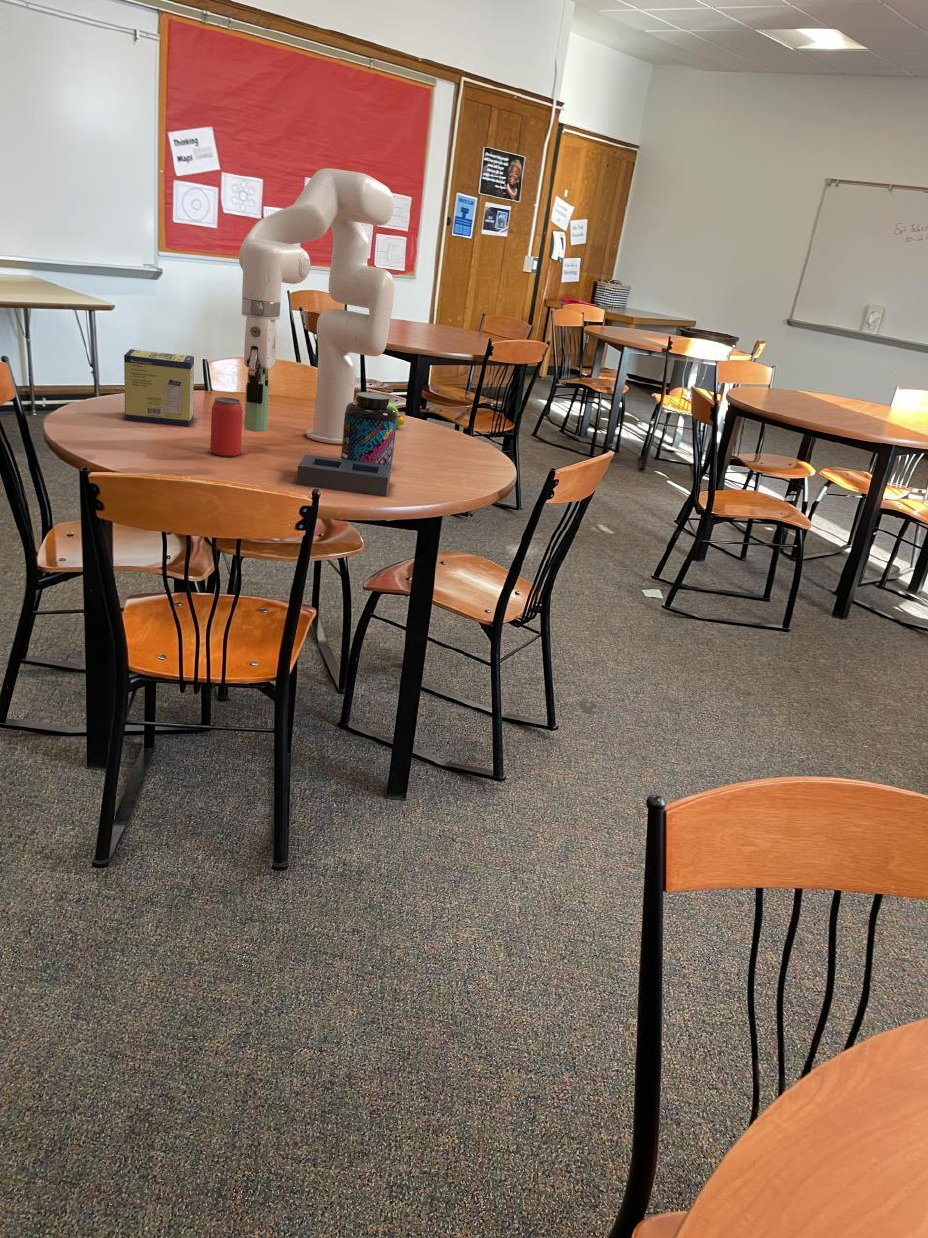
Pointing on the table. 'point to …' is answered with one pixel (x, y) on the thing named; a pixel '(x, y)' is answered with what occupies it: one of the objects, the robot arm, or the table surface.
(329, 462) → the hole block
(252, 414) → the bottle
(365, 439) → the container
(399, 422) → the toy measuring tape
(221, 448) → the beer can
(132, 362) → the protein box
